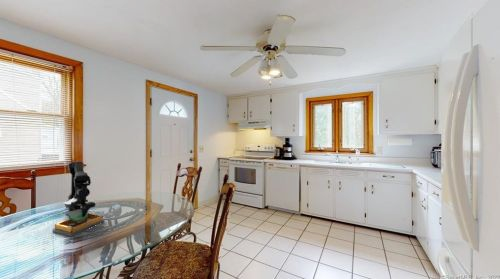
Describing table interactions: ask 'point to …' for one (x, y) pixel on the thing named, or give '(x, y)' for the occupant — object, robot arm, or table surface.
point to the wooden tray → (70, 231)
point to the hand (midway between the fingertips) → (80, 216)
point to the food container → (76, 217)
